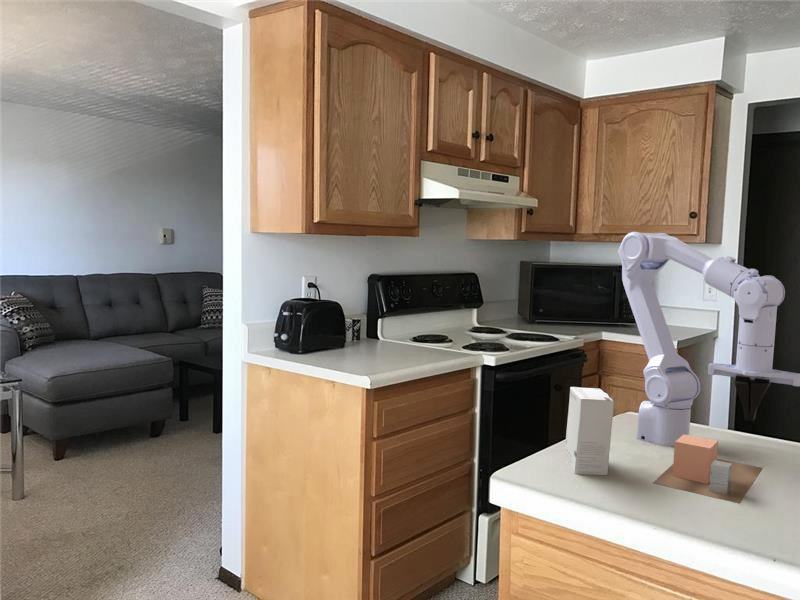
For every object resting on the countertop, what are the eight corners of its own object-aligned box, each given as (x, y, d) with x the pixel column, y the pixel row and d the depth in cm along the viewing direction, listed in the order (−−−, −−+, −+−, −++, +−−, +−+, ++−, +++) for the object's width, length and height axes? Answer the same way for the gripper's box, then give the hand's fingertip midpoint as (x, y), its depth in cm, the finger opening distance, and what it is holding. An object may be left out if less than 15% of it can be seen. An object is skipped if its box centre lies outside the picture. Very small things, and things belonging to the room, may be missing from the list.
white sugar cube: (709, 491, 107) (711, 464, 106) (712, 486, 109) (714, 460, 109) (726, 495, 105) (728, 467, 105) (730, 490, 107) (732, 463, 107)
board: (651, 491, 110) (652, 482, 110) (685, 460, 127) (685, 452, 127) (738, 512, 102) (739, 503, 102) (761, 475, 119) (762, 467, 119)
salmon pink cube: (672, 475, 114) (674, 441, 113) (681, 467, 118) (683, 434, 117) (707, 483, 110) (710, 448, 110) (715, 474, 115) (718, 440, 114)
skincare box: (563, 466, 122) (567, 386, 120) (596, 467, 122) (600, 386, 120) (574, 483, 113) (579, 397, 112) (610, 484, 113) (615, 398, 112)
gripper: (706, 342, 119) (701, 416, 120) (800, 352, 111) (793, 432, 112) (715, 338, 125) (710, 409, 126) (805, 347, 116) (798, 423, 117)
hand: (749, 419), depth 119 cm, fingers closed
